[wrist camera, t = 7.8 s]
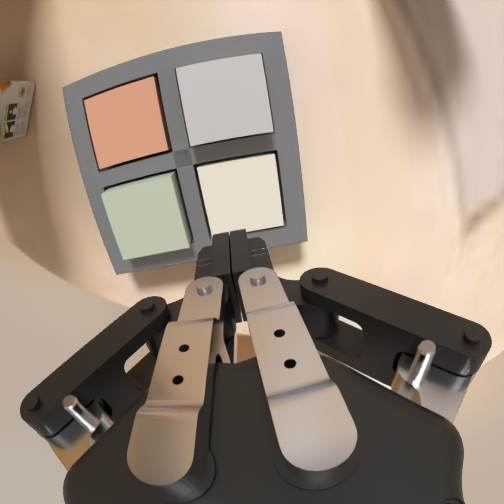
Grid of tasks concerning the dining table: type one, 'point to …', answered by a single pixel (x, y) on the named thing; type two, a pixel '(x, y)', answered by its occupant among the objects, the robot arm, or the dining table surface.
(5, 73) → the dining table surface
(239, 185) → the key cream
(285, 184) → the keypad
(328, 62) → the dining table surface
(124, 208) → the key sage
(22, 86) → the coffee box
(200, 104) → the key grey
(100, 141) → the key terracotta
